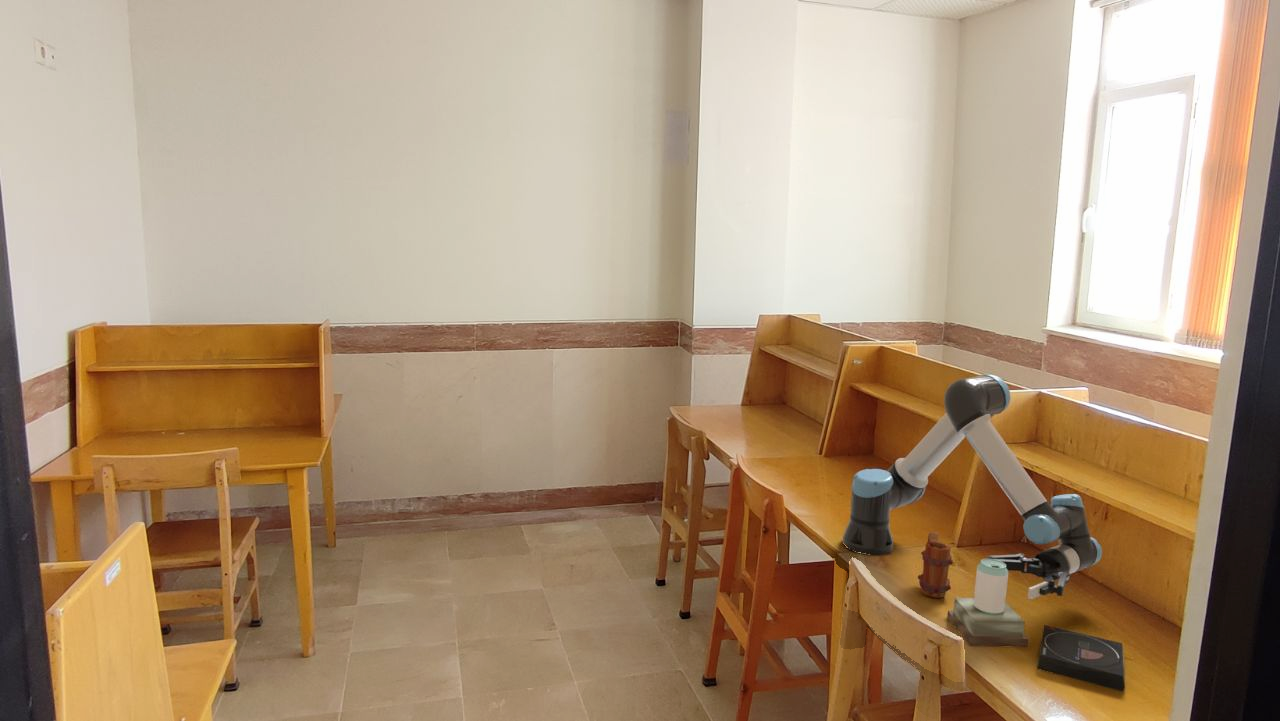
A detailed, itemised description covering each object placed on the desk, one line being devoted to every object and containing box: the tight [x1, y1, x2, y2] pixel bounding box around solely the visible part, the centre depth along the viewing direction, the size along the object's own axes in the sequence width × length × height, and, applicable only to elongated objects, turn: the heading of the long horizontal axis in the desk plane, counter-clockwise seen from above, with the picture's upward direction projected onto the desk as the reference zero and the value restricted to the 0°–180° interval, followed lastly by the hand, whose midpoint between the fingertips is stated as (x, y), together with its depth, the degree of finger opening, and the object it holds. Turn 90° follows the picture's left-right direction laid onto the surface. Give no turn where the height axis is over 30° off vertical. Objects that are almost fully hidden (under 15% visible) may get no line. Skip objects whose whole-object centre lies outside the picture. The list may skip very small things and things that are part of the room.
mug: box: [917, 531, 954, 598], centre depth 224 cm, size 15×8×15 cm, turn 168°
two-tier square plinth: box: [946, 597, 1030, 648], centre depth 202 cm, size 14×14×6 cm
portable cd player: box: [1037, 624, 1126, 692], centre depth 189 cm, size 16×17×4 cm
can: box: [973, 558, 1009, 614], centre depth 201 cm, size 7×7×12 cm
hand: (1004, 582), depth 202 cm, fingers open, 13 cm apart
